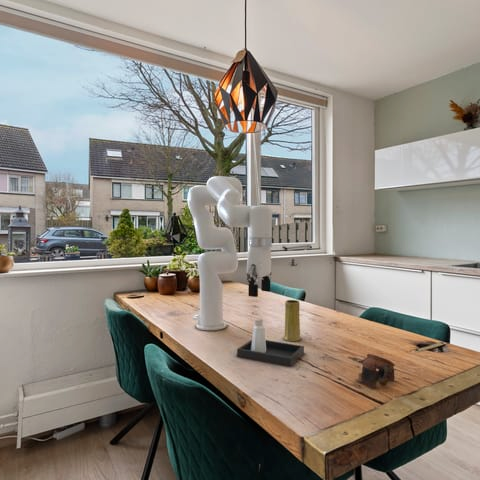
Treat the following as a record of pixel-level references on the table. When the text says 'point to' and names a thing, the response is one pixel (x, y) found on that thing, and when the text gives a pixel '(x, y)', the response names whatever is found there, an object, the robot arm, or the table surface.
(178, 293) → the table surface
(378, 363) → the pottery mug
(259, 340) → the salt shaker
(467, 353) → the table surface
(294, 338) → the vase
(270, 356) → the tray
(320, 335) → the table surface
